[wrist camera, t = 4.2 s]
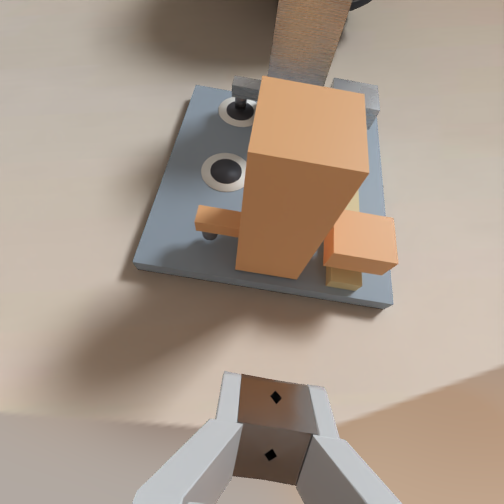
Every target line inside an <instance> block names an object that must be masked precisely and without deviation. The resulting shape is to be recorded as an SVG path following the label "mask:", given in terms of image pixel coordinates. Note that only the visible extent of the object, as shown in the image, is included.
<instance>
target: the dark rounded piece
mask: <svg viewBox="0 0 504 504" xmlns="http://www.w3.org/2000/svg"><path fill="white" fill-rule="evenodd" d="M370 1H372V0H352V3H351V6H350V9H349V11H352V10H354V9H357V8H359V7H361V6H363V5H365V4H367V3H369V2H370Z"/></svg>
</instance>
